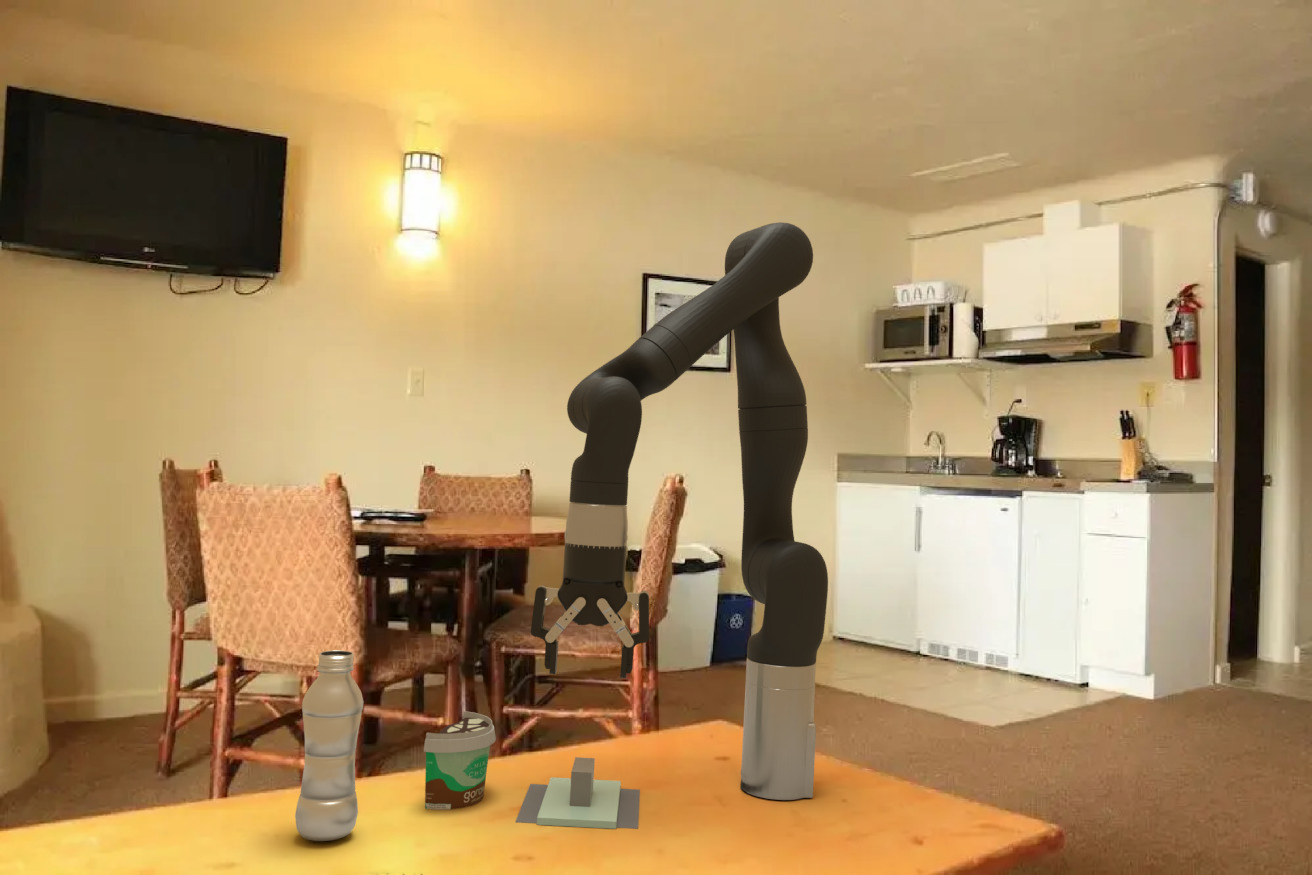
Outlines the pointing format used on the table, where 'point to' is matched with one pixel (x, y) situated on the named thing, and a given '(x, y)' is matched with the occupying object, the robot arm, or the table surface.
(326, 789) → the plastic bottle
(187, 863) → the table surface
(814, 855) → the table surface
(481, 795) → the food container
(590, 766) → the lid
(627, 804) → the rubber mat
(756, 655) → the robot arm
